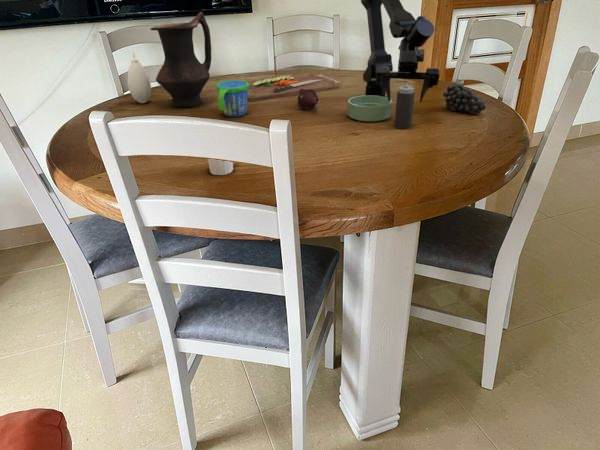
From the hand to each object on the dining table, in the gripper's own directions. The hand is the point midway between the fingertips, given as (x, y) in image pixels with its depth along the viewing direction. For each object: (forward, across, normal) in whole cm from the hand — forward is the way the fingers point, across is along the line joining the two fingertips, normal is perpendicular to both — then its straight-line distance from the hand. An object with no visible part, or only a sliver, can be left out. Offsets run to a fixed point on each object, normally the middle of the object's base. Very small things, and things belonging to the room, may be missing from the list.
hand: (404, 100), depth 138 cm
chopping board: (-24, -49, +35) cm, 65 cm away
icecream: (-4, -32, +15) cm, 36 cm away
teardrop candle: (-4, -95, +15) cm, 96 cm away
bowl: (0, -11, +11) cm, 15 cm away
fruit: (-7, +19, +17) cm, 27 cm away
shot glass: (+35, -43, -25) cm, 61 cm away
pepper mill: (+6, 0, +4) cm, 8 cm away
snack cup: (+3, -56, +8) cm, 56 cm away
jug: (-4, -76, +16) cm, 78 cm away
